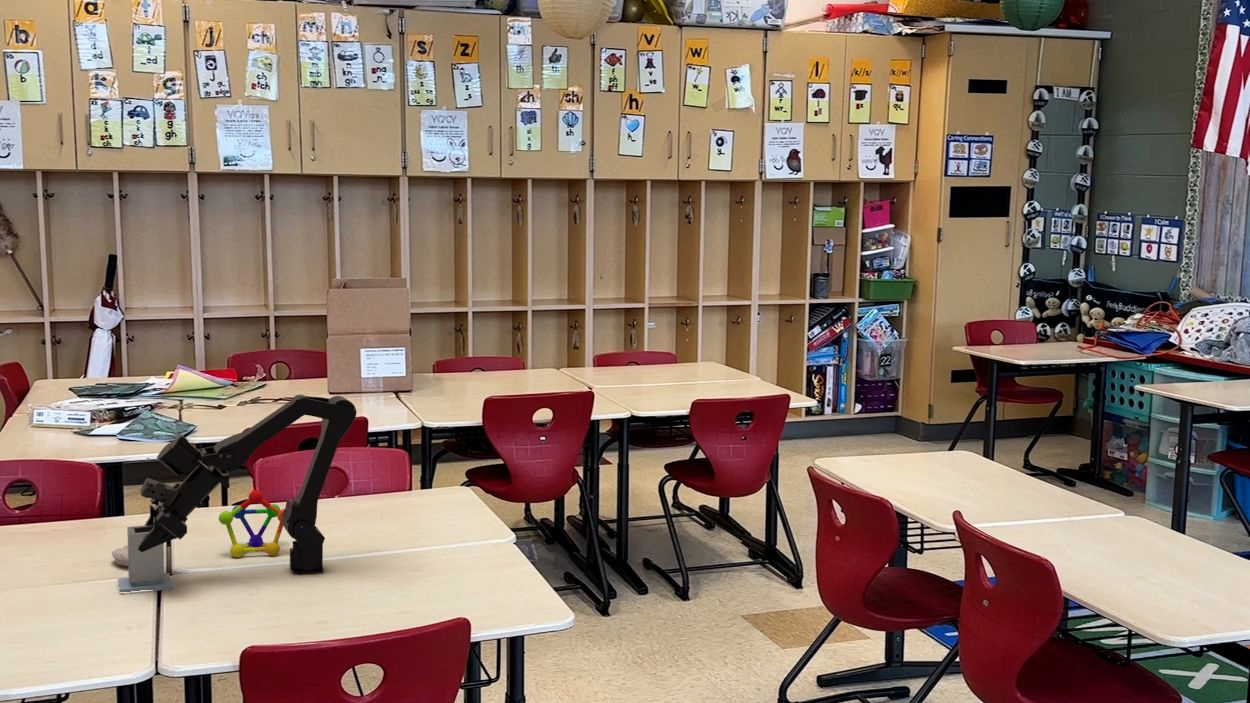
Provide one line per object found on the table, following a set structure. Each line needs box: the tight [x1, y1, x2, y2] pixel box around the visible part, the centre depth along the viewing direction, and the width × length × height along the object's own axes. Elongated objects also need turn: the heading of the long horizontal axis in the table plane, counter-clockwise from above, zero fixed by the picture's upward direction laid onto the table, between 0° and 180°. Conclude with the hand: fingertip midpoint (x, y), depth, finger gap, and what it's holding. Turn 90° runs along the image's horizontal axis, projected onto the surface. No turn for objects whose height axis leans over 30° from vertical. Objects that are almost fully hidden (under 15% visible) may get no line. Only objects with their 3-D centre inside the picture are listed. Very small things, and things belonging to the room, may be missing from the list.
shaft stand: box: [117, 572, 174, 593], centre depth 243 cm, size 10×8×4 cm
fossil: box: [111, 544, 128, 567], centre depth 259 cm, size 12×4×10 cm
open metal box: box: [126, 524, 165, 583], centre depth 243 cm, size 7×7×10 cm
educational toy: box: [218, 489, 285, 558], centre depth 269 cm, size 16×13×15 cm
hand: (138, 546), depth 242 cm, fingers closed on open metal box, 7 cm apart
